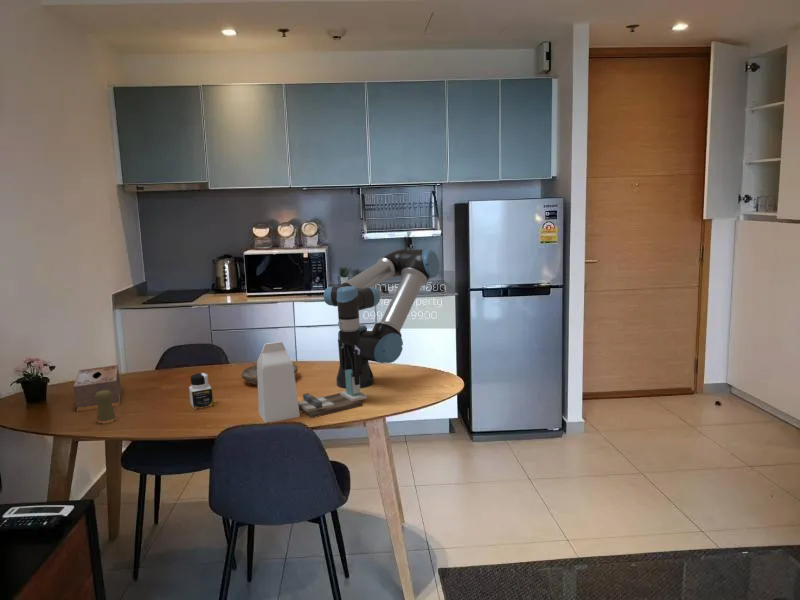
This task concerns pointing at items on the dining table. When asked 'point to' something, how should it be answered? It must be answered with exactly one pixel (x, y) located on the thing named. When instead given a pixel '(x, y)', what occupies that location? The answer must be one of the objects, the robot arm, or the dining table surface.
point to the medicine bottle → (200, 391)
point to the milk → (276, 384)
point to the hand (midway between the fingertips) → (353, 390)
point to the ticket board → (325, 404)
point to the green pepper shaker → (104, 405)
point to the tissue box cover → (96, 385)
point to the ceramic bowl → (251, 373)
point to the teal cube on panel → (351, 388)
